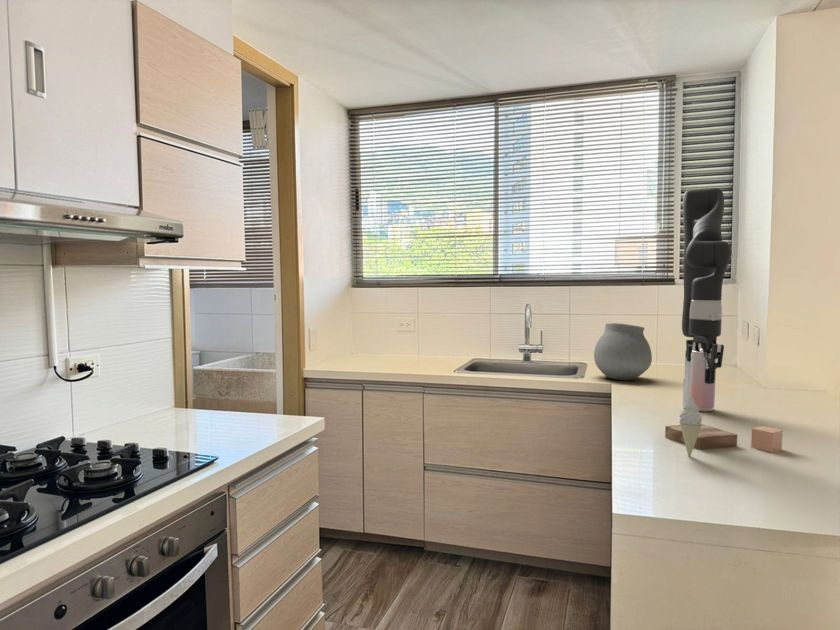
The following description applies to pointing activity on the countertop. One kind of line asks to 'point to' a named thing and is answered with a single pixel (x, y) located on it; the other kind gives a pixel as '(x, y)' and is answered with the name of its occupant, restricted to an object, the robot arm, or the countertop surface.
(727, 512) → the countertop surface
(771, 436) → the terracotta cube
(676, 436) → the pedestal
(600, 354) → the ceramic pot
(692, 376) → the beverage can
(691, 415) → the ice cream cone
